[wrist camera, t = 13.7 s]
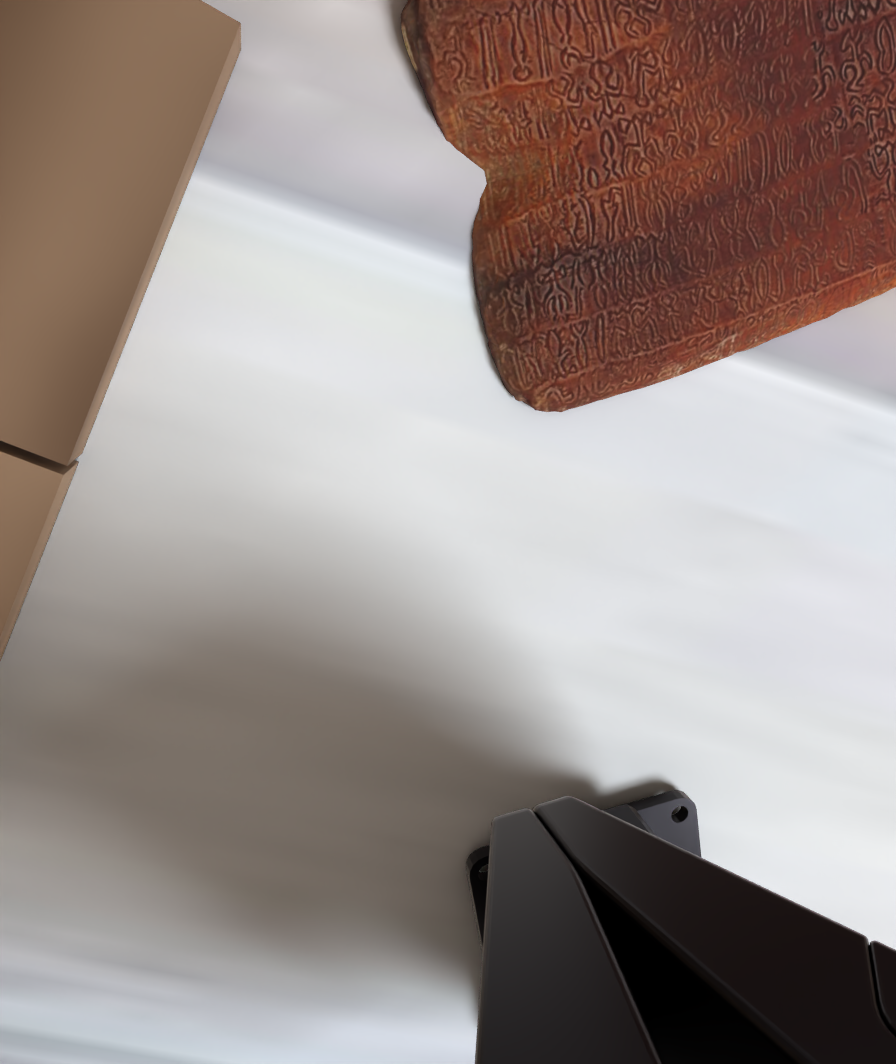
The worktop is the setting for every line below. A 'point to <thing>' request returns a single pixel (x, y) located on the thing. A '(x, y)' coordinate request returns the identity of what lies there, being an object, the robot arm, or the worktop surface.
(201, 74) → the weathered wooden board
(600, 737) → the worktop surface
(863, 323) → the worktop surface
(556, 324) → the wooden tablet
